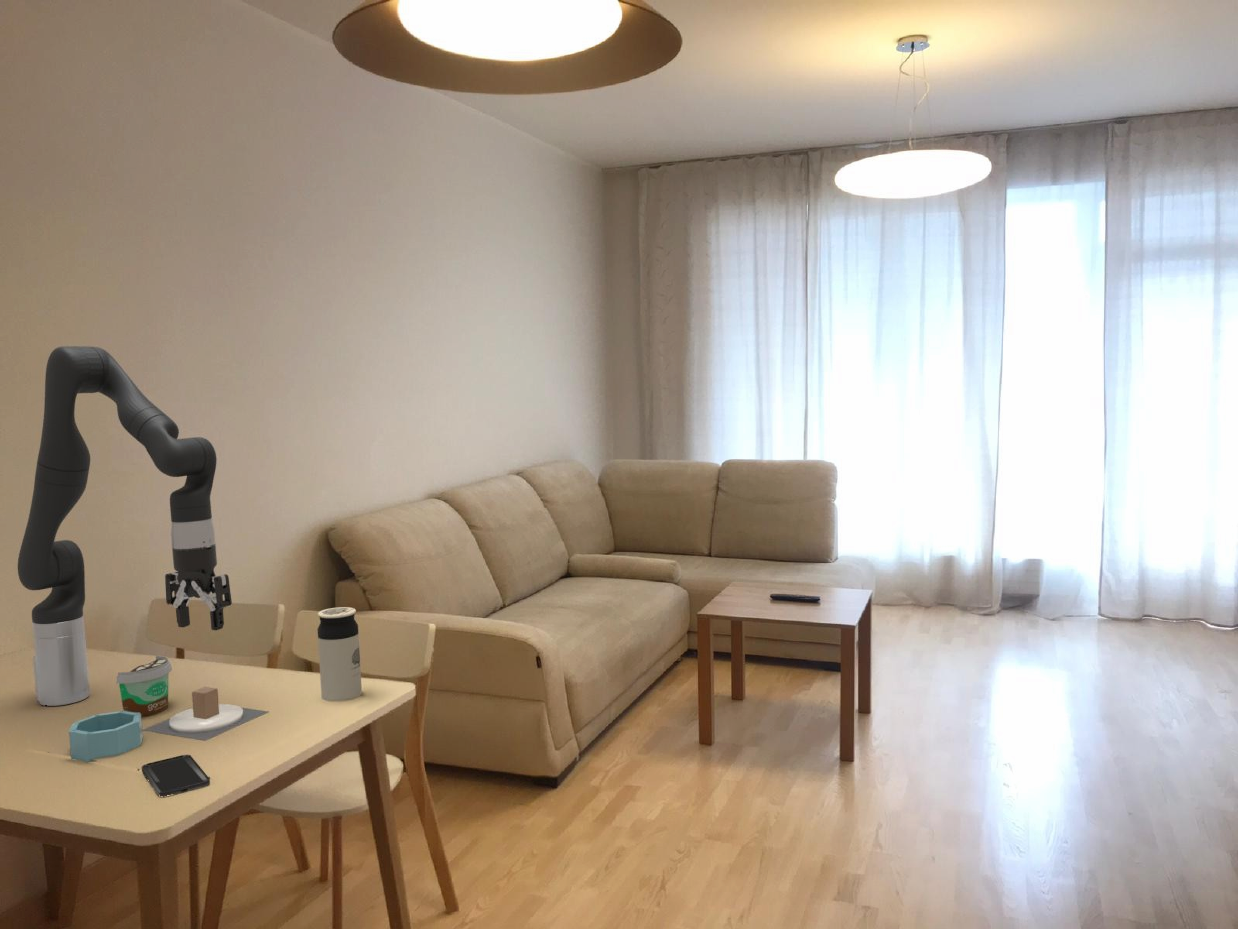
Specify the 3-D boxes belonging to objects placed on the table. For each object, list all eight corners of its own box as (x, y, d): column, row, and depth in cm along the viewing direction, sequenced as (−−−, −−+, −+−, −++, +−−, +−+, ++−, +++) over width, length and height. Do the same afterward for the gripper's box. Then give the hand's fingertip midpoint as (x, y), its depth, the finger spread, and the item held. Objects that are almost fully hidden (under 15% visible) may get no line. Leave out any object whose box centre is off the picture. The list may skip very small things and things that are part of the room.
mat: (141, 733, 183) (141, 730, 183) (208, 705, 198) (208, 702, 198) (205, 743, 177) (205, 740, 177) (269, 714, 192) (269, 711, 191)
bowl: (58, 756, 173) (56, 729, 172) (113, 734, 183) (111, 708, 182) (102, 765, 168) (100, 736, 168) (155, 742, 179) (153, 715, 178)
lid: (153, 728, 184) (151, 697, 184) (208, 706, 196) (206, 676, 195) (205, 736, 179) (203, 704, 178) (257, 713, 191) (255, 683, 190)
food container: (147, 725, 188) (143, 674, 187) (119, 723, 189) (115, 673, 188) (188, 703, 200) (184, 655, 199) (161, 702, 201) (157, 655, 200)
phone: (189, 753, 171) (211, 780, 158) (189, 759, 171) (211, 787, 159) (139, 765, 166) (158, 794, 154) (140, 772, 166) (159, 801, 154)
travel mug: (313, 702, 198) (308, 614, 197) (337, 689, 206) (332, 605, 204) (346, 705, 195) (341, 617, 194) (369, 693, 203) (365, 607, 201)
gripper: (149, 546, 184) (157, 630, 185) (206, 548, 178) (213, 635, 180) (182, 539, 191) (189, 621, 192) (237, 541, 185) (244, 625, 186)
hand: (200, 628), depth 186 cm, fingers open, 8 cm apart
